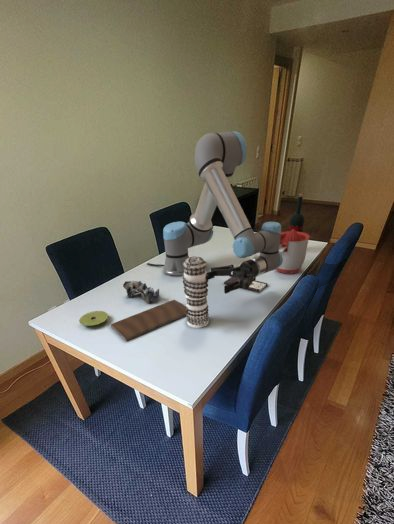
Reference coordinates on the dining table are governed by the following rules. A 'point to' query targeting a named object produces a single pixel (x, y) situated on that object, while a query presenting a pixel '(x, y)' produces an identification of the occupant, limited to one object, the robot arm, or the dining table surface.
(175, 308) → the walnut board
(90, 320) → the mat
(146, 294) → the foil
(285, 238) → the citrus juicer
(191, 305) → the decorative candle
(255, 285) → the chocolate bar
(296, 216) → the wine bottle
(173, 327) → the dining table surface
